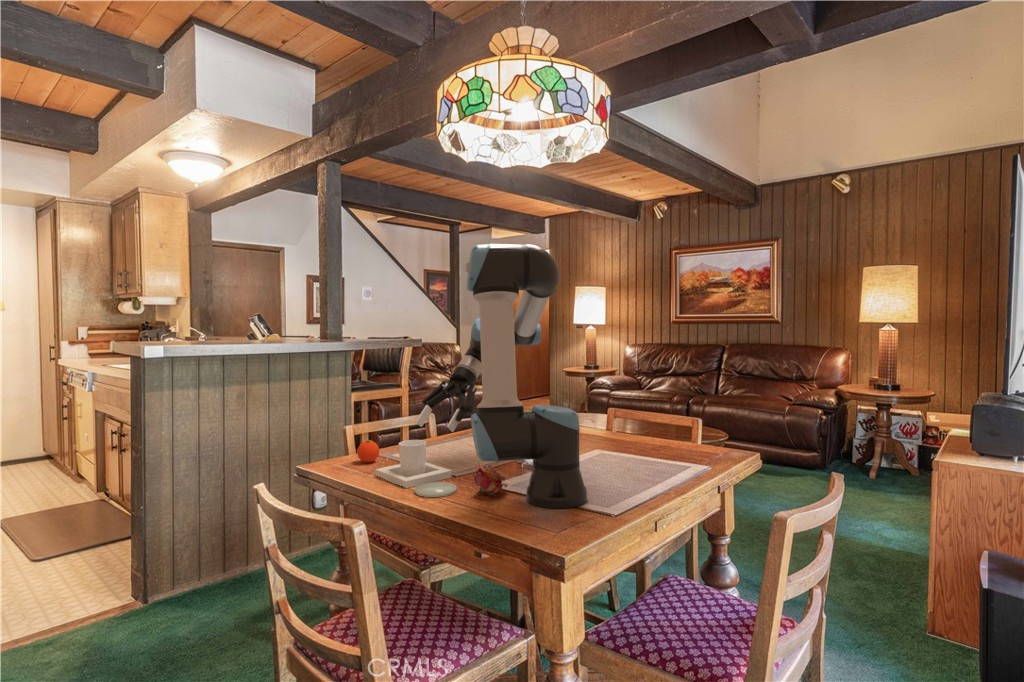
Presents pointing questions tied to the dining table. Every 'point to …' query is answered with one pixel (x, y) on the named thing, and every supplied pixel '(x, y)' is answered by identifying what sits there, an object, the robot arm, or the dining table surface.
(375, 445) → the clementine
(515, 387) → the robot arm
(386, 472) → the board
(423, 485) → the coaster
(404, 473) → the white cup
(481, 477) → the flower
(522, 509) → the dining table surface
